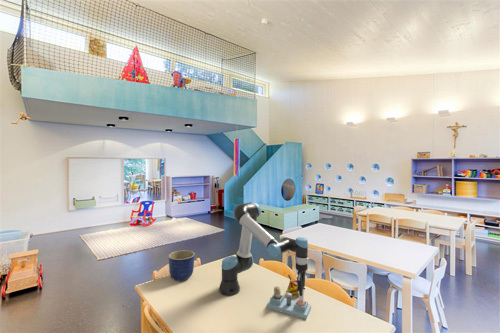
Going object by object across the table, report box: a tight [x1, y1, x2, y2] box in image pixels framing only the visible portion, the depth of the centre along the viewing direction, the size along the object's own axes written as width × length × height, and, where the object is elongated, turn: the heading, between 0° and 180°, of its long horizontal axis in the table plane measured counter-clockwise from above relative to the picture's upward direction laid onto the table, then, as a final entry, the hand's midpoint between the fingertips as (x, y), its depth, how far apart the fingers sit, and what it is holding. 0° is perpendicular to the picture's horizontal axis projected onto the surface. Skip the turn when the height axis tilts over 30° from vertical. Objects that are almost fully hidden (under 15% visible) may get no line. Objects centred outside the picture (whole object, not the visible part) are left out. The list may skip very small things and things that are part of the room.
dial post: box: [285, 292, 293, 306], centre depth 160 cm, size 4×4×7 cm
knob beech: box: [273, 285, 282, 300], centre depth 164 cm, size 4×4×7 cm
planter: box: [168, 249, 196, 282], centre depth 202 cm, size 21×21×19 cm
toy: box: [286, 274, 299, 297], centre depth 180 cm, size 14×10×15 cm
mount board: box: [266, 293, 312, 320], centre depth 160 cm, size 26×12×6 cm, turn 64°
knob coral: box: [297, 298, 306, 306], centre depth 157 cm, size 4×4×7 cm
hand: (301, 300), depth 157 cm, fingers closed
